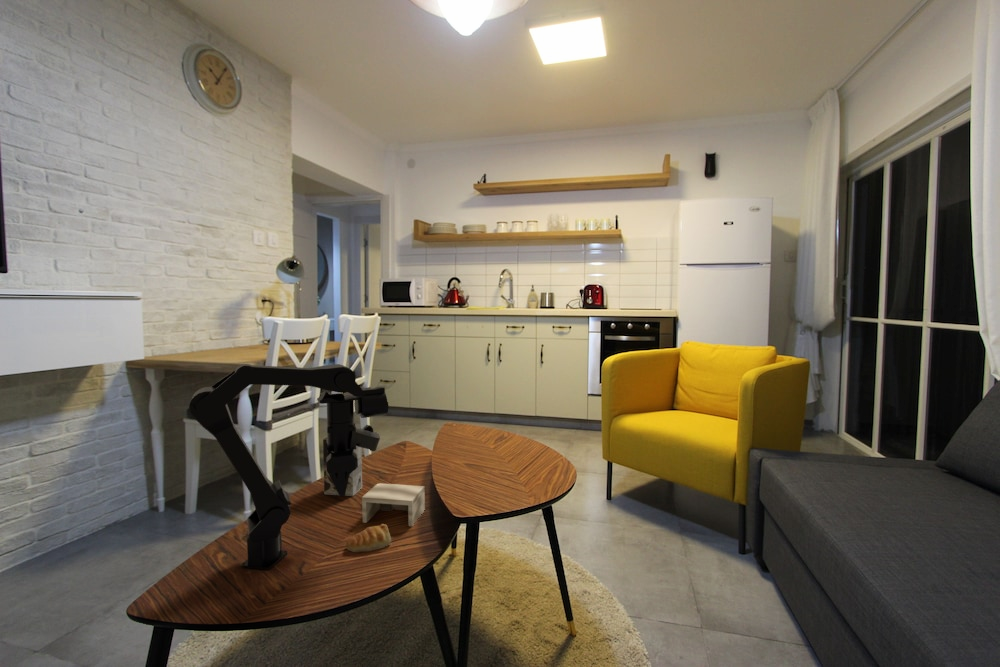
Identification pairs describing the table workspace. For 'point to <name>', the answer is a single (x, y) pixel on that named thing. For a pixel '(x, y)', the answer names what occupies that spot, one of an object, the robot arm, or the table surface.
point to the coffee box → (354, 477)
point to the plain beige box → (394, 500)
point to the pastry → (370, 539)
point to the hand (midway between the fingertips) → (341, 488)
